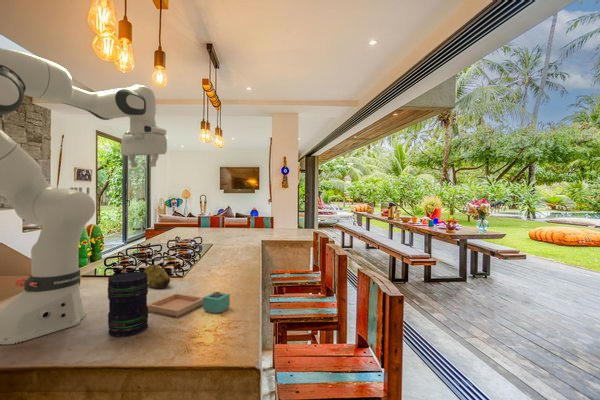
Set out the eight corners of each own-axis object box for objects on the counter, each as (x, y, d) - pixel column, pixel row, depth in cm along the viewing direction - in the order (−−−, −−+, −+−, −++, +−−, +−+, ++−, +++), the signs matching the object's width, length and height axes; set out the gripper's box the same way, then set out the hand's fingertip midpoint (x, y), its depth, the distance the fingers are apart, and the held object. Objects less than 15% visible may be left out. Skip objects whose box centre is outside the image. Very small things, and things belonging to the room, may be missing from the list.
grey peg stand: (218, 314, 99) (218, 297, 99) (200, 311, 102) (200, 294, 101) (231, 307, 105) (231, 291, 105) (214, 304, 108) (214, 288, 108)
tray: (177, 318, 96) (177, 311, 96) (145, 311, 101) (145, 304, 101) (205, 304, 108) (205, 297, 108) (176, 298, 113) (176, 292, 113)
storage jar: (139, 319, 95) (138, 269, 95) (154, 328, 89) (154, 275, 88) (102, 330, 87) (101, 276, 87) (116, 341, 81) (116, 283, 81)
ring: (218, 312, 100) (218, 299, 99) (203, 309, 102) (203, 297, 102) (229, 306, 105) (229, 294, 105) (214, 303, 107) (214, 291, 107)
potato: (148, 292, 121) (148, 271, 120) (141, 283, 131) (141, 264, 131) (171, 288, 126) (171, 268, 125) (163, 280, 136) (163, 262, 136)
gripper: (116, 130, 121) (116, 166, 122) (156, 127, 114) (156, 165, 114) (130, 133, 127) (130, 167, 128) (169, 130, 120) (169, 166, 120)
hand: (143, 166), depth 121 cm, fingers open, 8 cm apart
